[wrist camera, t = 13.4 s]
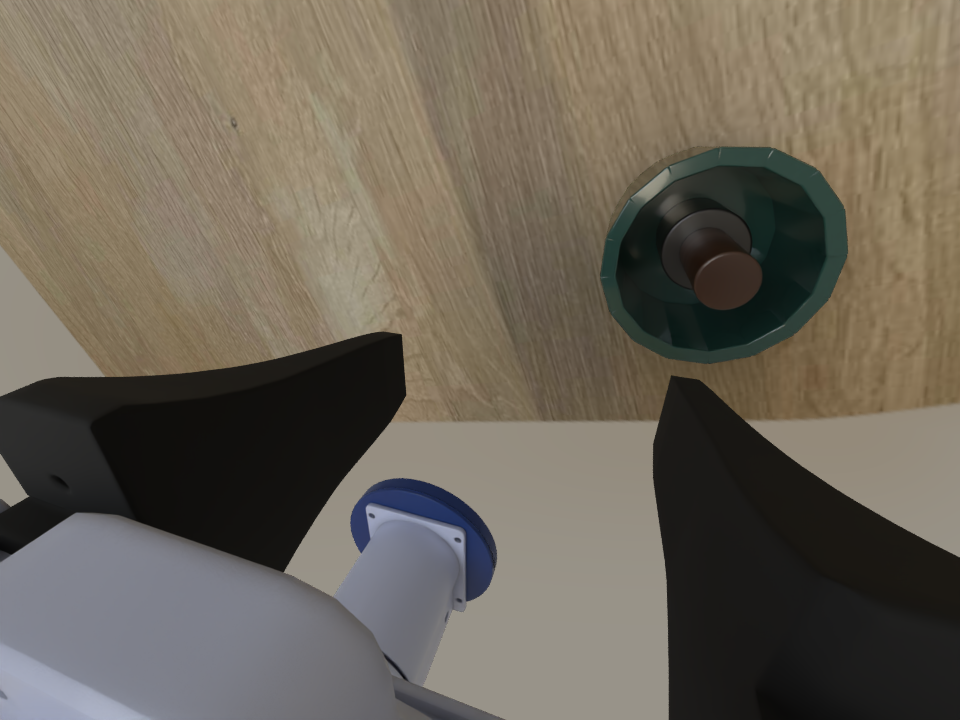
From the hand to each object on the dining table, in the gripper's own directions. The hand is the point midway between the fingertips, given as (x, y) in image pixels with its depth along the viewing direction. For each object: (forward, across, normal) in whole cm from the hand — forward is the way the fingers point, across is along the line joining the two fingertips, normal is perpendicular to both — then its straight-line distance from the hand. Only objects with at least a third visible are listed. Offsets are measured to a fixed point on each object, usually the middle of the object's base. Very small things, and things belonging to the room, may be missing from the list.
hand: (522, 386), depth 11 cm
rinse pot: (+10, -5, -2) cm, 12 cm away
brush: (+10, -5, -3) cm, 11 cm away
